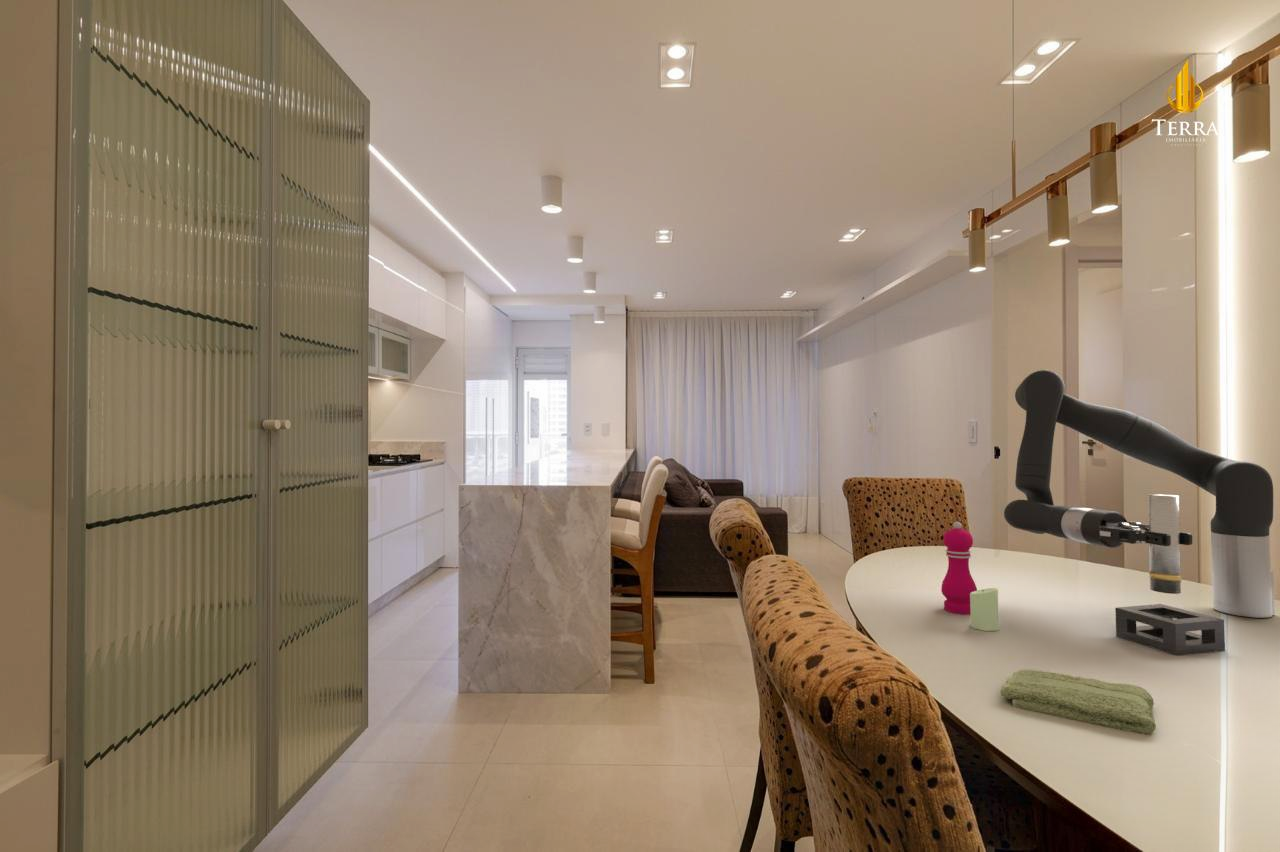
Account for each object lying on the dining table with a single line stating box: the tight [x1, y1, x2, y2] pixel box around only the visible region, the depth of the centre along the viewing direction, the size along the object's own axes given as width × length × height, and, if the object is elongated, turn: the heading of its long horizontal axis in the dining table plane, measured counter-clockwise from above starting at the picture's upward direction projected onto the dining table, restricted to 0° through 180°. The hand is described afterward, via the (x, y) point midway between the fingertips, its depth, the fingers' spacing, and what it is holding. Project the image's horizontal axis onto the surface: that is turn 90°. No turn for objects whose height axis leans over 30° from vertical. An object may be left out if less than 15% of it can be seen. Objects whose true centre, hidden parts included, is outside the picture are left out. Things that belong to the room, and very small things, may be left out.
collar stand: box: [1114, 603, 1226, 656], centre depth 114 cm, size 11×11×6 cm
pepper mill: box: [940, 521, 978, 615], centre depth 137 cm, size 7×7×20 cm
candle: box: [970, 587, 1000, 632], centre depth 125 cm, size 5×5×8 cm
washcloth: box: [1000, 668, 1157, 735], centre depth 88 cm, size 13×18×3 cm
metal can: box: [1148, 493, 1182, 595], centre depth 115 cm, size 5×5×18 cm
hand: (1179, 539), depth 112 cm, fingers closed on metal can, 4 cm apart
